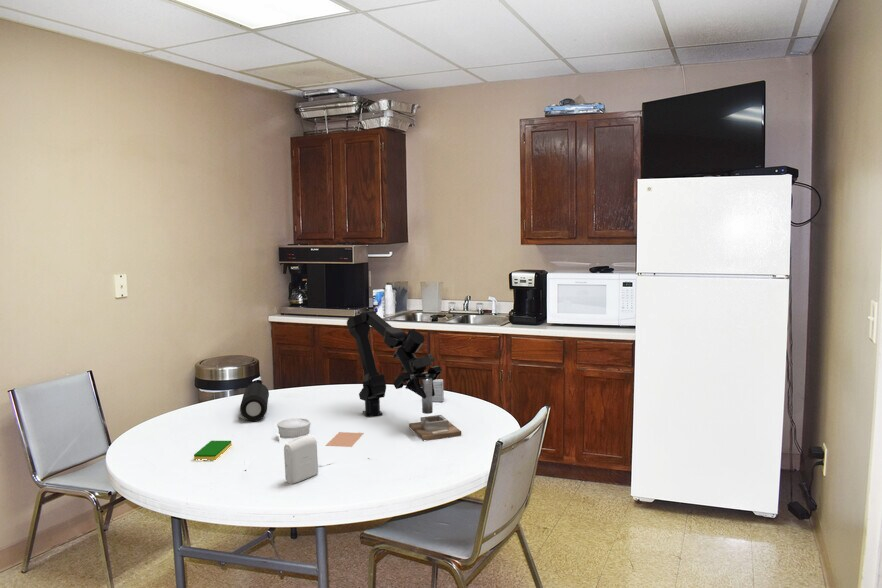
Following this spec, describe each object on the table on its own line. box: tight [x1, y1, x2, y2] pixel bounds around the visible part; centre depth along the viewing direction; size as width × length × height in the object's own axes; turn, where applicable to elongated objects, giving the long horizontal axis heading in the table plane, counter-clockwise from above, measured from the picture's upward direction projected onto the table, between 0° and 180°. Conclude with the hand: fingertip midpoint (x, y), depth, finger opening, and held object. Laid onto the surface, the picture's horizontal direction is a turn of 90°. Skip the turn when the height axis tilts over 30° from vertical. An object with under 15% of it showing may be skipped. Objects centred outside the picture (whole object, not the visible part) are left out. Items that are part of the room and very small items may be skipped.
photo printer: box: [283, 434, 319, 485], centre depth 193 cm, size 10×4×12 cm, turn 140°
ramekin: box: [276, 417, 312, 438], centre depth 231 cm, size 11×11×5 cm
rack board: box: [408, 414, 462, 442], centre depth 234 cm, size 16×14×4 cm
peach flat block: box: [325, 431, 364, 448], centre depth 223 cm, size 14×9×2 cm, turn 170°
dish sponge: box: [193, 440, 233, 461], centre depth 217 cm, size 7×14×2 cm, turn 176°
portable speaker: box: [239, 382, 270, 422], centre depth 261 cm, size 26×10×10 cm, turn 13°
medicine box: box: [432, 378, 445, 403], centre depth 274 cm, size 8×4×9 cm, turn 84°
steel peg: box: [421, 377, 434, 415], centre depth 231 cm, size 4×4×12 cm
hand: (429, 396), depth 230 cm, fingers closed on steel peg, 4 cm apart
